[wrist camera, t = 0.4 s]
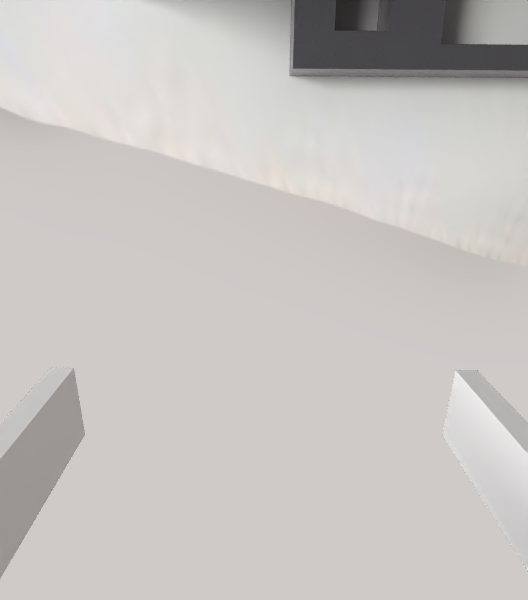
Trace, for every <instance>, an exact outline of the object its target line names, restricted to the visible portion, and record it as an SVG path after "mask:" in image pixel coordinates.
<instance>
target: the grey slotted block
mask: <svg viewBox="0 0 528 600" xmlns="http://www.w3.org/2000/svg"><path fill="white" fill-rule="evenodd" d="M446 4H447V0H380V3H379V15H378V26H377V31H337V30H335V15H336V0H291V34H290V76H387V77H506V78H528V45H486V44H441V41H442V34H443V26H444V19H445V11H446Z"/></svg>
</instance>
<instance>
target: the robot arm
mask: <svg viewBox="0 0 528 600" xmlns="http://www.w3.org/2000/svg"><path fill="white" fill-rule="evenodd" d="M84 435H85V432H84V426H83V420H82V414H81V408H80V402H79V396H78V390H77V384H76V378H75V373H74V368H51V369H50V370H49V371H48V372H47V373H46V374H45V375H44V376H43V377H42V378H41V380H40V381H39V382H38V383H37V384H36V385H35V386H34V387H33V388H32V389H31V391H30V392H29V393H28V394H27V395H26V396H25V397H24V398H23V399H22V400H21V402H20V403H19V404H18V405H17V406H16V407H15V408H14V409H13V410H12V411H11V413H10V414H9V415H8V416H7V417H6V418H5V419H4V420H3V421H2V422H1V424H0V578H1V576H2V575H3V573H4V571H5V569H6V568H7V566H8V564H9V563H10V561H11V559H12V558H13V556H14V554H15V553H16V551H17V549H18V547H19V546H20V544H21V542H22V541H23V539H24V537H25V535H26V534H27V532H28V530H29V529H30V527H31V525H32V524H33V522H34V520H35V519H36V517H37V515H38V513H39V512H40V510H41V508H42V507H43V505H44V503H45V502H46V500H47V498H48V496H49V495H50V493H51V491H52V490H53V488H54V486H55V484H56V483H57V481H58V479H59V478H60V476H61V474H62V473H63V470H64V469H65V467H66V466H67V464H68V462H69V461H70V459H71V457H72V456H73V454H74V452H75V450H76V449H77V447H78V445H79V443H80V442H81V440H82V439H83V437H84ZM443 437H444V439H445V440H446V442H447V444H448V445H449V447H450V448H451V450H452V452H453V453H454V455H455V456H456V458H457V460H458V461H459V463H460V464H461V466H462V468H463V469H464V471H465V472H466V474H467V475H468V477H469V478H470V480H471V482H472V483H473V485H474V486H475V488H476V490H477V491H478V493H479V495H480V496H481V498H482V499H483V501H484V503H485V504H486V506H487V507H488V509H489V511H490V512H491V514H492V515H493V517H494V518H495V520H496V522H497V523H498V525H499V526H500V528H501V530H502V531H503V533H504V534H505V536H506V538H507V539H508V541H509V542H510V544H511V546H512V547H513V549H514V550H515V552H516V553H517V555H518V557H519V558H520V560H521V561H522V563H523V565H524V566H525V568H526V569H527V571H528V423H527V422H526V420H525V419H524V418H523V417H522V416H521V415H520V414H519V413H518V412H517V411H516V410H515V409H514V408H513V407H512V406H511V405H510V404H509V403H508V402H507V401H506V400H505V399H504V398H503V396H501V394H500V393H499V392H498V391H497V390H496V389H495V388H494V387H493V386H492V385H491V384H490V383H489V382H488V381H487V380H486V379H485V378H484V377H483V376H482V375H481V374H480V373H479V372H478V370H475V371H474V370H456V371H455V376H454V381H453V386H452V391H451V395H450V400H449V405H448V410H447V416H446V420H445V425H444V430H443Z"/></svg>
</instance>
